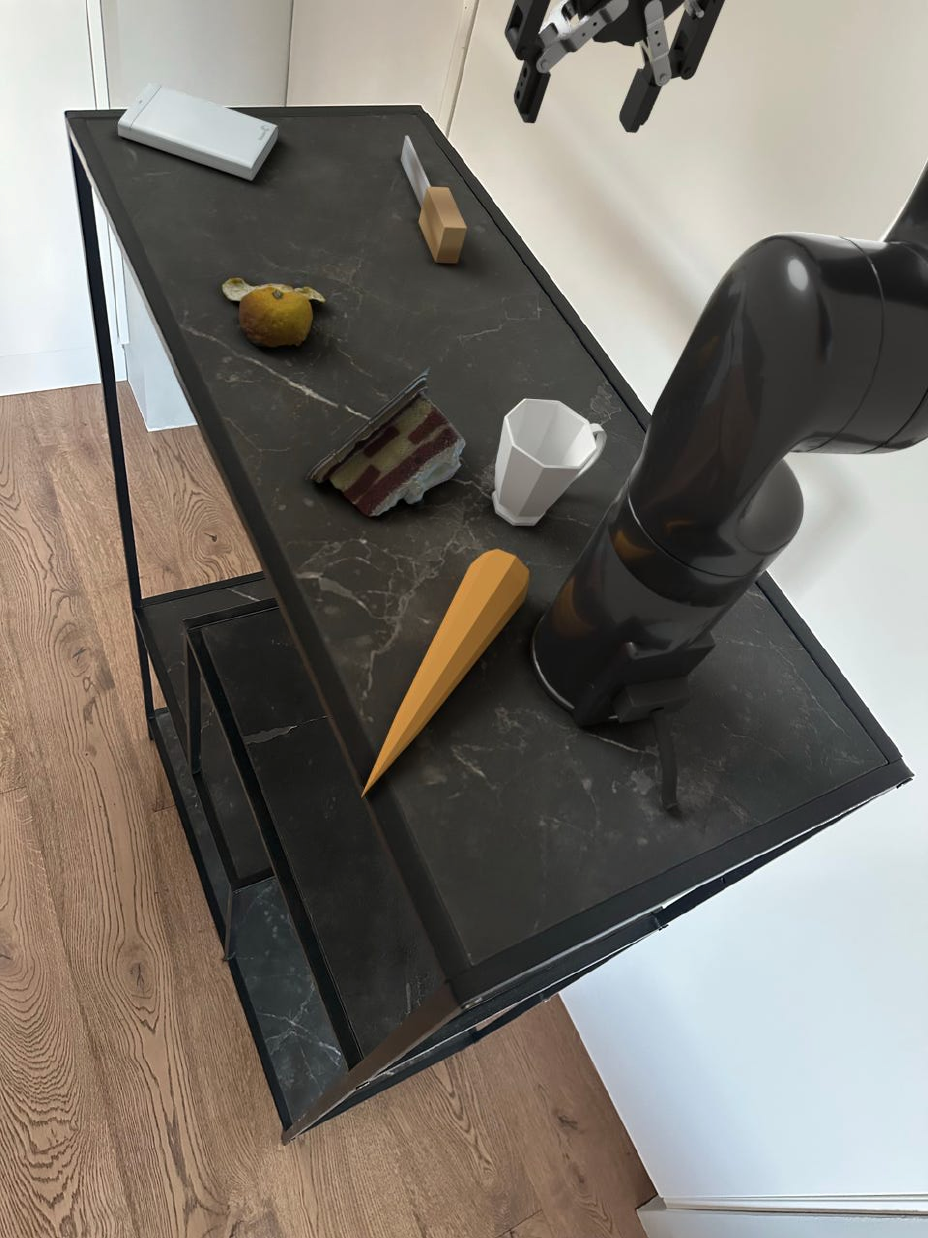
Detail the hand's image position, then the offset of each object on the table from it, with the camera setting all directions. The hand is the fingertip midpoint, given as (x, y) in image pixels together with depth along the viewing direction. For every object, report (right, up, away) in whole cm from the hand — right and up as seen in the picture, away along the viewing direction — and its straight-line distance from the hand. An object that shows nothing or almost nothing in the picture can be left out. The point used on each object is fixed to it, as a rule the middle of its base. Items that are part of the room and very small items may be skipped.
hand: (577, 121), depth 67 cm
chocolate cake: (-14, -26, +2) cm, 30 cm away
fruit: (-24, -12, +8) cm, 28 cm away
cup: (-3, -28, +4) cm, 28 cm away
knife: (-12, +3, +21) cm, 25 cm away
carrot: (-11, -39, -10) cm, 41 cm away
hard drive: (-27, +7, +18) cm, 33 cm away
